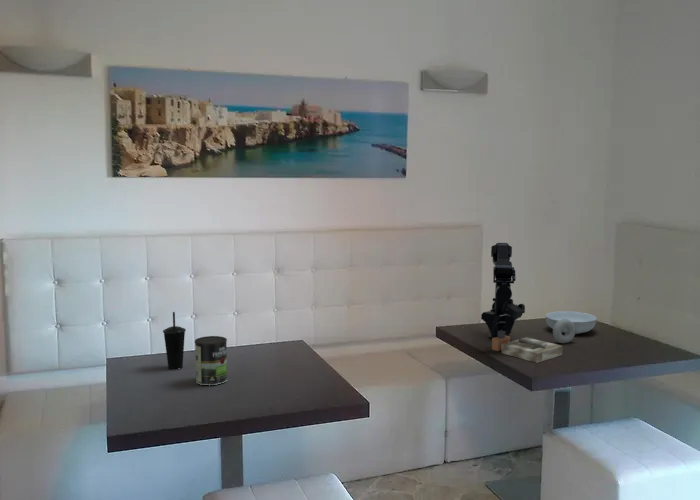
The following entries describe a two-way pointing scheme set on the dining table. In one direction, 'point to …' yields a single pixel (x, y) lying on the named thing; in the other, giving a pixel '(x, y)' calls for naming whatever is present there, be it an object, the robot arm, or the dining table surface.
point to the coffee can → (211, 360)
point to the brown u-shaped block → (499, 340)
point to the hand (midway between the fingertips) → (501, 335)
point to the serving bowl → (579, 319)
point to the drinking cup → (174, 345)
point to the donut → (558, 330)
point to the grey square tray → (532, 349)
